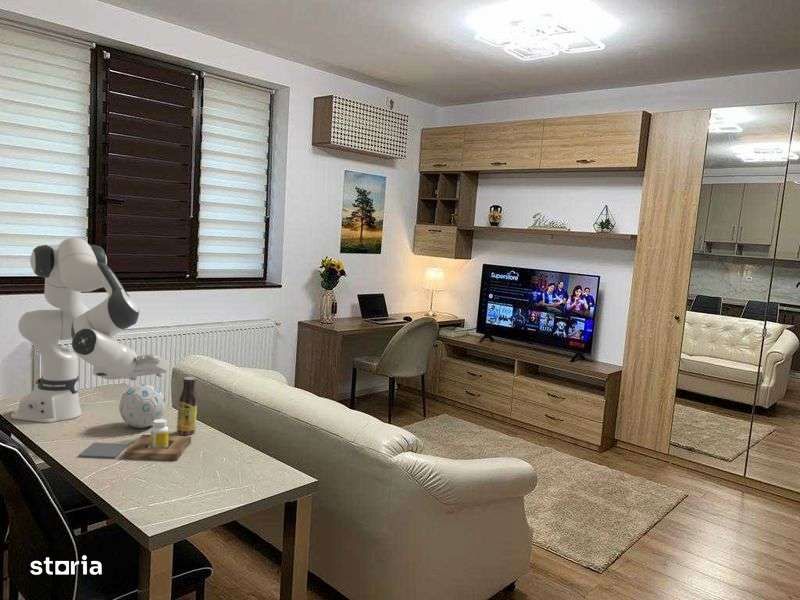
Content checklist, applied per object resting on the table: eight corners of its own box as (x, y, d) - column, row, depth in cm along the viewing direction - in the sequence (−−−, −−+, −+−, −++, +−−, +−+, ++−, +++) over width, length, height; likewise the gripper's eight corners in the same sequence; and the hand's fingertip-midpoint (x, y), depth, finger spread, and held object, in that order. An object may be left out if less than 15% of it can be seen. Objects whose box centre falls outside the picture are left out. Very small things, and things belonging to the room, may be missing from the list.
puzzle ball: (160, 417, 228) (161, 378, 227) (168, 430, 216) (169, 389, 214) (116, 422, 220) (116, 381, 219) (121, 435, 208) (122, 392, 206)
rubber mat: (78, 457, 187) (78, 455, 187) (93, 444, 198) (93, 442, 198) (115, 458, 188) (115, 456, 188) (128, 445, 199) (128, 444, 199)
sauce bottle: (172, 433, 213) (174, 377, 211) (186, 428, 218) (188, 374, 216) (186, 437, 210) (188, 381, 208) (200, 432, 215) (202, 377, 213)
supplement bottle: (171, 448, 199) (172, 419, 198) (160, 454, 194) (161, 424, 193) (157, 446, 200) (158, 417, 199) (146, 451, 195) (147, 421, 194)
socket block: (124, 458, 189) (124, 452, 188) (142, 440, 204) (142, 434, 204) (177, 460, 190) (177, 454, 190) (191, 442, 206) (191, 436, 205)
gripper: (154, 346, 176) (180, 362, 188) (91, 354, 180) (121, 370, 192) (151, 367, 173) (177, 382, 185) (87, 375, 177) (117, 389, 189)
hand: (148, 376), depth 189 cm, fingers open, 8 cm apart
